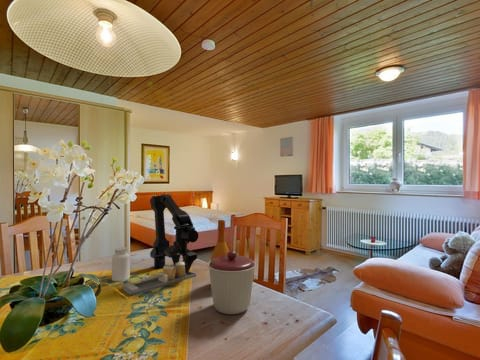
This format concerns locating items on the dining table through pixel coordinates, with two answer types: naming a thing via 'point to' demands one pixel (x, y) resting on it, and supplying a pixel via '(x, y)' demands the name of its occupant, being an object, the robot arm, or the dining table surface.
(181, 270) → the amber jar
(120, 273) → the pill bottle
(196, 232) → the robot arm
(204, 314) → the dining table surface
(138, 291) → the tray
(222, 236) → the wine bottle
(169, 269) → the amber jar
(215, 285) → the canister
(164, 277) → the pusher
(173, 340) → the dining table surface
